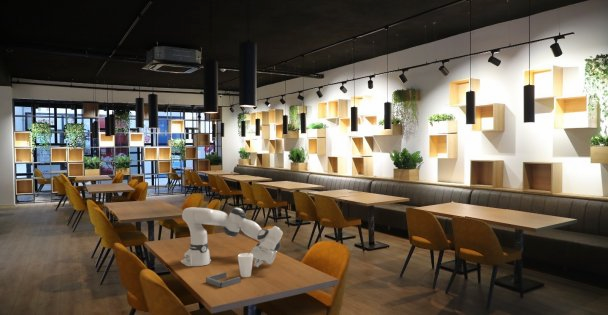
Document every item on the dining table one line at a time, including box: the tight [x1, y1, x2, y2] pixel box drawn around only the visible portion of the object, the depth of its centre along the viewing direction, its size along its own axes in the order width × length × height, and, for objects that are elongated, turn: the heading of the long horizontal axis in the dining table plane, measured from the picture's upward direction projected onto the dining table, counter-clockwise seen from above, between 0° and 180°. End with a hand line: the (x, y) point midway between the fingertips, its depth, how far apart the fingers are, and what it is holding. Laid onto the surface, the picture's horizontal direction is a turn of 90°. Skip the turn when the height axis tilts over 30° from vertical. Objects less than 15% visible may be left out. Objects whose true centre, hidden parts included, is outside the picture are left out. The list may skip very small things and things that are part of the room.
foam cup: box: [237, 252, 254, 278], centre depth 259 cm, size 10×9×13 cm
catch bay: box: [205, 271, 241, 289], centre depth 247 cm, size 15×14×3 cm
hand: (255, 266), depth 265 cm, fingers closed
